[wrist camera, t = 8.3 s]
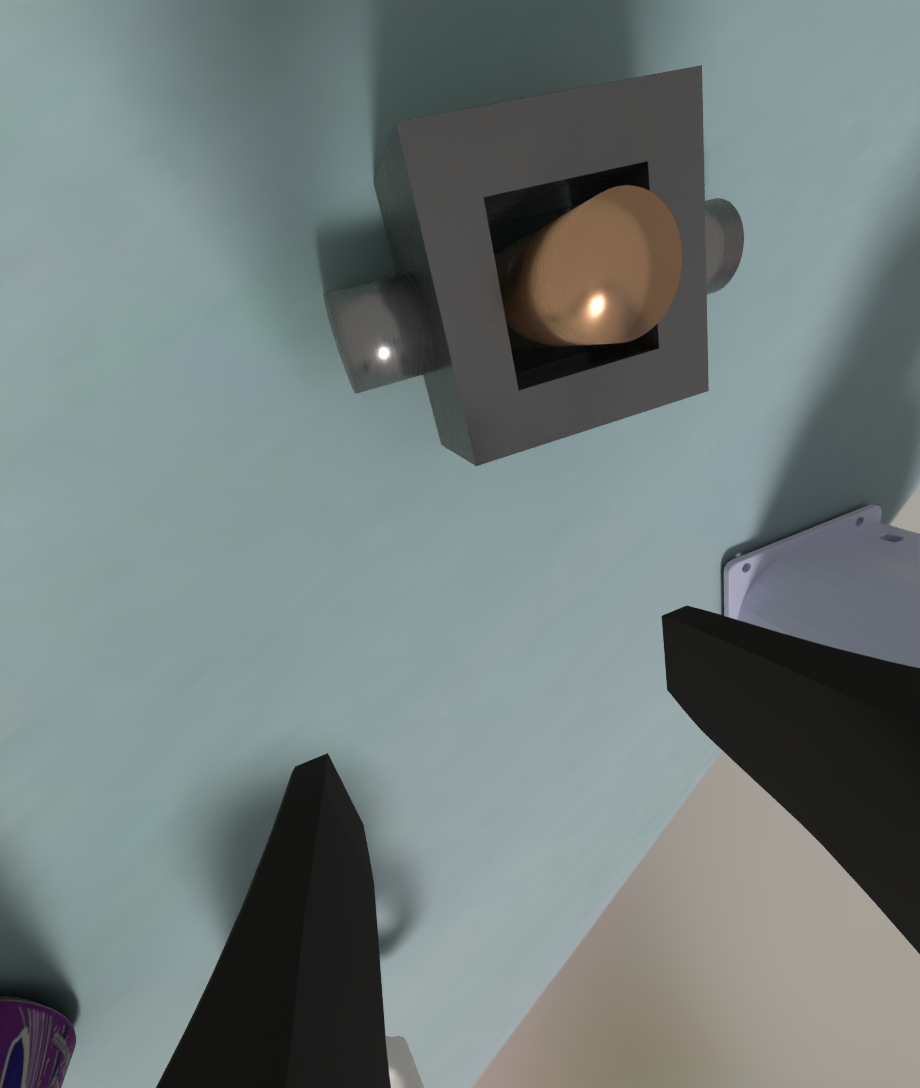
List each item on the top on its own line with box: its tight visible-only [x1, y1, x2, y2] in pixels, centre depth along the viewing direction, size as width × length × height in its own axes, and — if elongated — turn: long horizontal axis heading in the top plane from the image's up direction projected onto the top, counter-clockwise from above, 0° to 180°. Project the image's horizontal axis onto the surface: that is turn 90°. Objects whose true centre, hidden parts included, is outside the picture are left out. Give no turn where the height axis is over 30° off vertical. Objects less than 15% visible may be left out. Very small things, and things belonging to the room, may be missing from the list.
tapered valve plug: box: [494, 185, 682, 349], centre depth 14 cm, size 3×3×6 cm
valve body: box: [323, 65, 744, 466], centre depth 15 cm, size 13×8×4 cm, turn 104°
